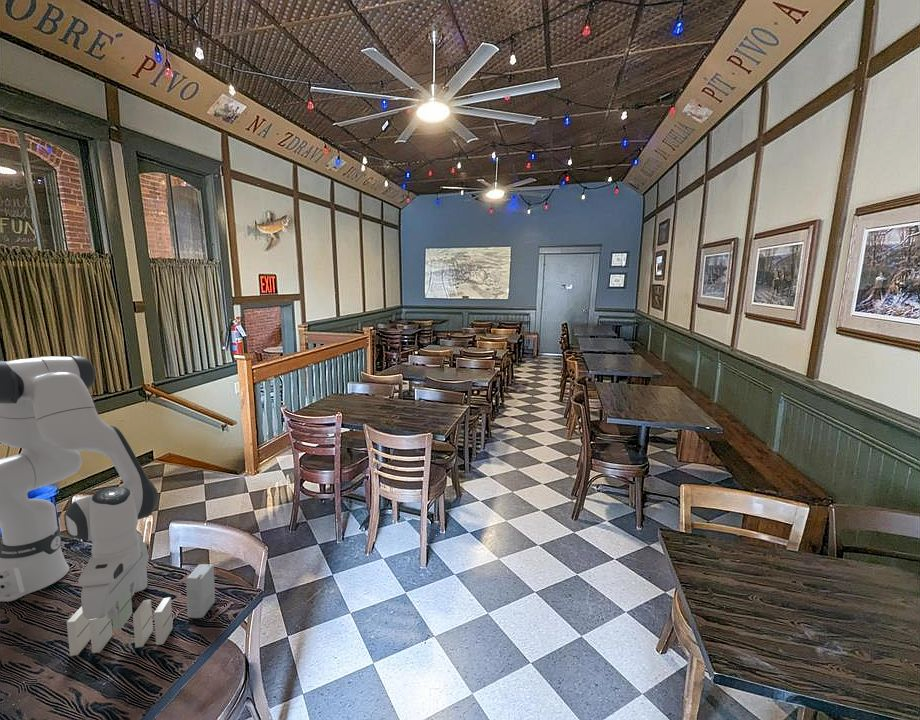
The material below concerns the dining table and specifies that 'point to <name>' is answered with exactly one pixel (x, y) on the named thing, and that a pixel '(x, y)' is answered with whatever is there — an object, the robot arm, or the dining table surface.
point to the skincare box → (200, 590)
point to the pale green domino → (123, 610)
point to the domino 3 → (143, 623)
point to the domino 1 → (78, 632)
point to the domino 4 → (163, 621)
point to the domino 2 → (100, 633)
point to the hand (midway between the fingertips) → (121, 606)
